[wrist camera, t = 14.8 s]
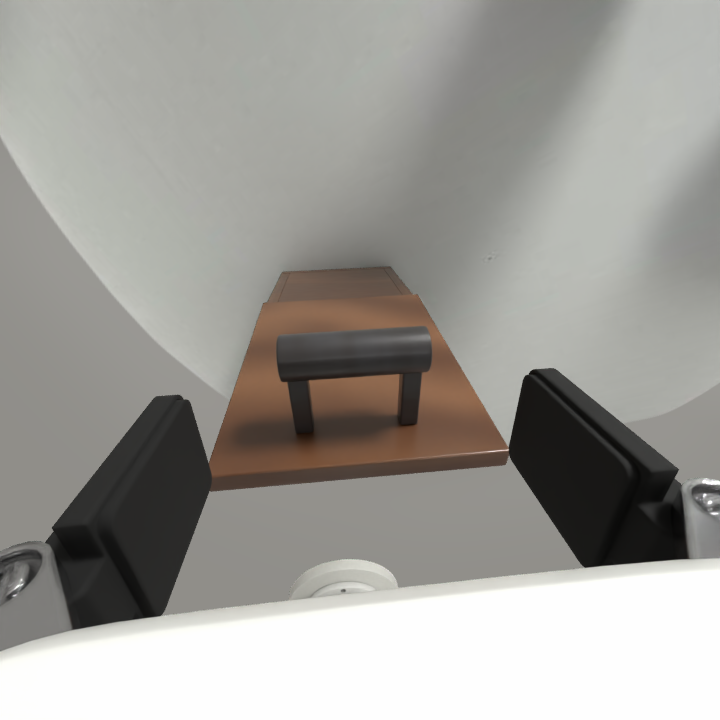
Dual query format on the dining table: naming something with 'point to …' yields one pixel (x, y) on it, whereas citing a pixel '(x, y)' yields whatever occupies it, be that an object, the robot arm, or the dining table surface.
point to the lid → (349, 398)
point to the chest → (338, 284)
